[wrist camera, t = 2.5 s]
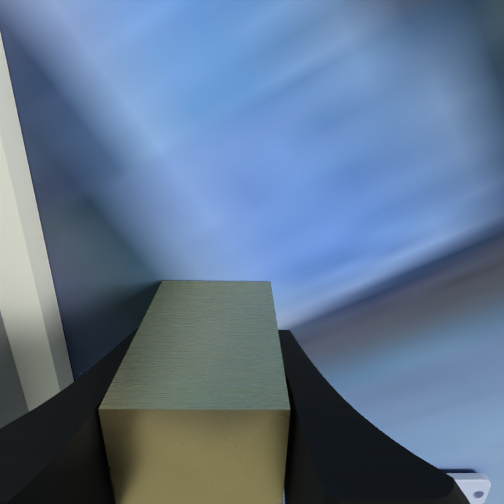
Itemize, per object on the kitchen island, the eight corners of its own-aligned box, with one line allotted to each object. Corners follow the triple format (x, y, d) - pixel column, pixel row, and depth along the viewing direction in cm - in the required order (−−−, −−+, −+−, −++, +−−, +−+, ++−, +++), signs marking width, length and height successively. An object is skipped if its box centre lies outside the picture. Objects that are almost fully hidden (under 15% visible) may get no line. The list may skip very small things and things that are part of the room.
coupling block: (266, 368, 14) (279, 529, 9) (169, 367, 14) (120, 530, 9) (270, 281, 13) (289, 409, 7) (162, 280, 13) (98, 409, 7)
